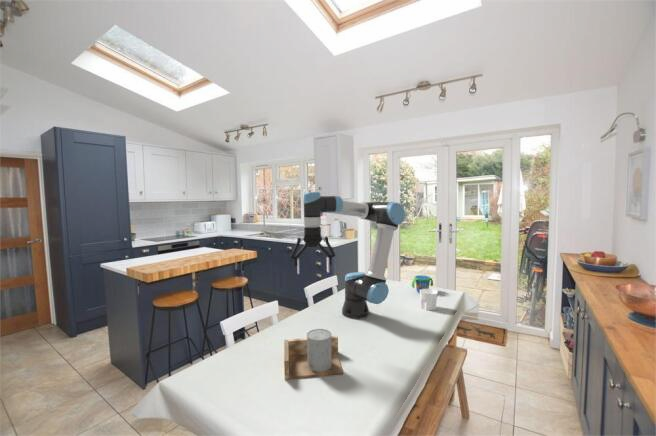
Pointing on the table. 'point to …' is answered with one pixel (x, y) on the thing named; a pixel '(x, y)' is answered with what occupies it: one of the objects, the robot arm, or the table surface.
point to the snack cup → (422, 282)
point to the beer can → (319, 350)
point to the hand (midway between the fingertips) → (313, 272)
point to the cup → (428, 299)
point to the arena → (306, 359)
